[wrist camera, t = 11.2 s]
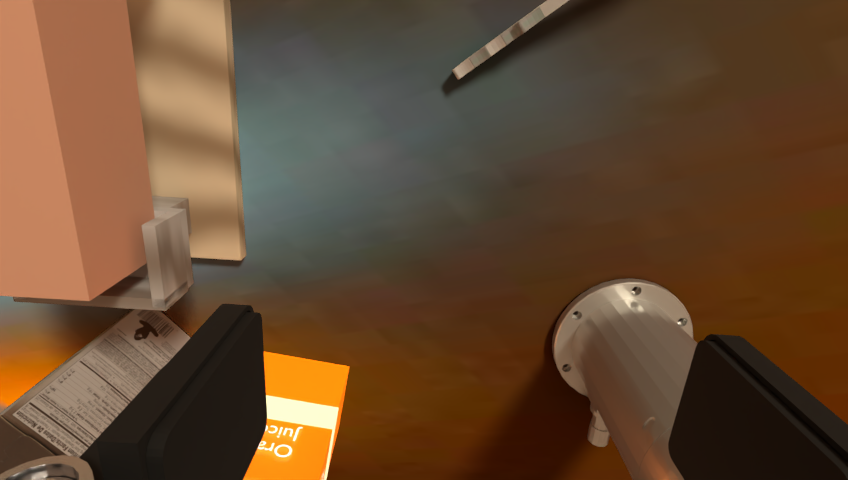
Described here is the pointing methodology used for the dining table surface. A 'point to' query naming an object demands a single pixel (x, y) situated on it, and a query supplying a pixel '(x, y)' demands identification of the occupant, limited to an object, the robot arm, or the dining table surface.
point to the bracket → (507, 36)
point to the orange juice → (299, 418)
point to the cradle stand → (182, 149)
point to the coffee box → (88, 389)
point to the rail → (69, 149)
